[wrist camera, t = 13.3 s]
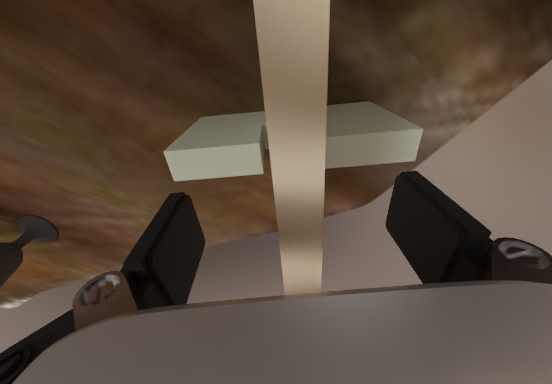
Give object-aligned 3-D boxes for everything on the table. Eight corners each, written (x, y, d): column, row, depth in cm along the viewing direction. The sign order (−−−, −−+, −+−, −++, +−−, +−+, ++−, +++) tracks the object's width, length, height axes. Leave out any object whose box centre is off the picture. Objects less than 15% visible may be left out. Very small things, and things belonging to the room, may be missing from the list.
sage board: (201, 116, 24) (163, 151, 16) (369, 101, 24) (423, 128, 15) (206, 138, 26) (174, 181, 17) (366, 124, 25) (415, 161, 17)
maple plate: (264, 18, 20) (247, -51, 6) (291, 15, 20) (331, -61, 6) (279, 191, 30) (286, 310, 16) (298, 189, 29) (320, 307, 16)
